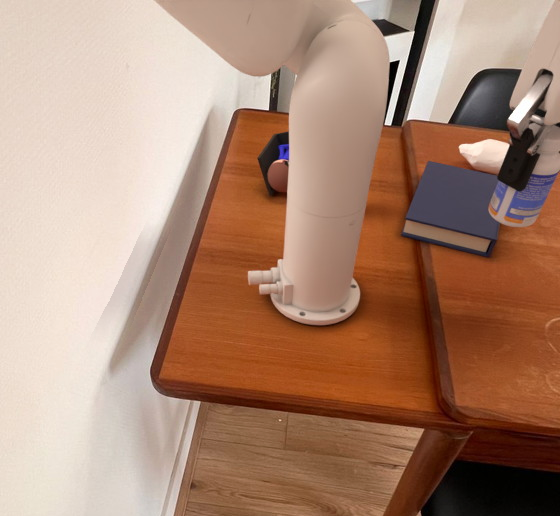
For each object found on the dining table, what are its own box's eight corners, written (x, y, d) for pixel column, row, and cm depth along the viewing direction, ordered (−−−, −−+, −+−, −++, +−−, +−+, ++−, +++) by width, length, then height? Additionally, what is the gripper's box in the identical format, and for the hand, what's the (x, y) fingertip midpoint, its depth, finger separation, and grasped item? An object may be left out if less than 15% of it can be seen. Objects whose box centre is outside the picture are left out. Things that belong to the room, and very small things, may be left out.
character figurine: (313, 167, 99) (289, 208, 90) (276, 156, 100) (249, 197, 90) (320, 126, 93) (295, 166, 83) (281, 115, 94) (252, 153, 84)
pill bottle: (543, 218, 61) (585, 134, 53) (518, 234, 58) (559, 148, 51) (503, 197, 63) (538, 114, 56) (477, 212, 61) (510, 127, 53)
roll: (456, 156, 104) (465, 127, 100) (518, 170, 101) (530, 142, 97) (450, 169, 100) (459, 140, 96) (515, 185, 97) (527, 156, 93)
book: (489, 258, 82) (497, 239, 80) (400, 235, 85) (405, 217, 83) (501, 195, 95) (508, 177, 92) (423, 178, 98) (428, 160, 95)
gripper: (628, -49, 49) (543, 143, 63) (517, -29, 41) (448, 183, 55) (709, -29, 45) (600, 171, 59) (604, -3, 38) (507, 218, 51)
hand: (528, 175), depth 57 cm, fingers closed on pill bottle, 5 cm apart
